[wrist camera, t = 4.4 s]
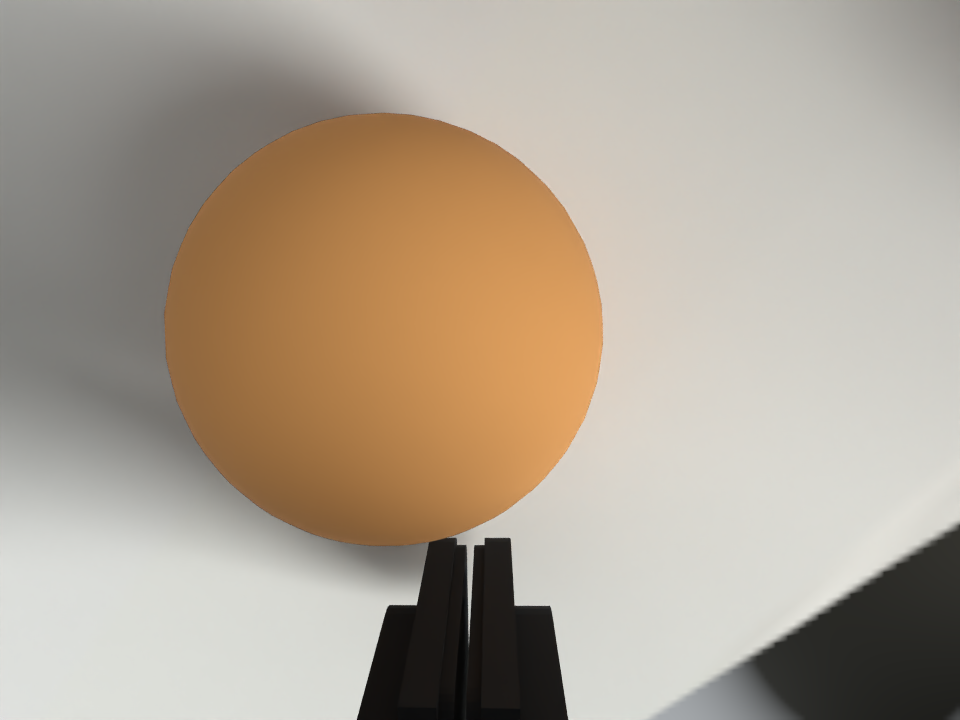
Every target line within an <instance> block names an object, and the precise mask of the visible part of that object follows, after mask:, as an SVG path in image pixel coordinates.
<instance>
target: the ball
mask: <svg viewBox="0 0 960 720" xmlns="http://www.w3.org/2000/svg"><path fill="white" fill-rule="evenodd" d="M164 318H165V345H166V360H167V364H168V368H169V373H170V377H171V381H172V385H173V389H174V392H175V396H176V400H177V402H178V405H179V407H180V409H181V411H182V414H183V416H184V418H185V420H186V422H187V424H188V426H189V428H190V430H191V432H192V434H193V436H194V438H195V440H196V441H197V443H198V444H199V446H200V447H201V449H202V450H203V452H204V453H205V454H206V456H207V457H208V458H209V459H210V461H211V462H212V463H213V464H214V466H215V467H216V468H217V469H218V471H219V472H220V473H221V474H222V475H223V476H224V477H225V478H226V479H227V481H228V482H229V483H230V484H232V485H233V486H234V487H235V488H236V489H237V490H239V491H240V492H241V493H242V494H243V495H245V496H246V497H247V498H248V499H250V500H251V501H252V502H253V503H255V504H256V505H257V506H258V507H260V508H261V509H263V510H265V511H266V512H268V513H269V514H271V515H272V516H274V517H276V518H278V519H280V520H282V521H284V522H286V523H288V524H290V525H293V526H295V527H297V528H299V529H301V530H304V531H306V532H309V533H311V534H314V535H317V536H320V537H323V538H327V539H331V540H335V541H339V542H345V543H351V544H359V545H369V546H401V545H412V544H419V543H426V542H431V541H436V540H440V539H444V538H447V537H450V536H454V535H457V534H459V533H462V532H464V531H467V530H469V529H471V528H474V527H476V526H478V525H480V524H482V523H484V522H486V521H489V520H491V519H493V518H495V517H496V516H498V515H499V514H501V513H503V512H504V511H506V510H507V509H509V508H510V507H511V506H513V505H514V504H515V503H516V502H518V501H519V500H520V499H522V498H523V497H524V496H525V495H527V494H528V493H529V492H531V491H532V490H533V489H534V488H535V487H536V486H537V485H538V484H539V483H540V482H541V481H542V480H543V479H544V478H545V477H546V476H547V475H548V473H549V472H550V471H551V470H552V469H553V468H554V466H555V465H556V464H557V463H558V461H559V460H560V459H561V458H562V456H563V455H564V454H565V452H566V451H567V449H568V447H569V446H570V444H571V442H572V440H573V439H574V437H575V435H576V433H577V431H578V430H579V428H580V426H581V424H582V422H583V421H584V419H585V416H586V413H587V410H588V407H589V405H590V402H591V399H592V396H593V393H594V390H595V387H596V384H597V379H598V373H599V367H600V361H601V353H602V346H603V323H602V306H601V300H600V294H599V289H598V284H597V280H596V276H595V273H594V269H593V265H592V263H591V260H590V257H589V255H588V252H587V249H586V247H585V244H584V242H583V240H582V238H581V236H580V235H579V233H578V231H577V229H576V227H575V226H574V224H573V222H572V220H571V219H570V217H569V215H568V213H567V212H566V210H565V208H564V207H563V206H562V204H561V203H560V202H559V201H558V199H557V198H556V197H555V196H554V194H553V193H552V192H551V191H550V189H549V188H548V187H547V186H546V185H545V184H544V183H543V182H542V181H541V180H540V179H539V178H538V177H537V176H536V175H535V174H534V173H533V172H532V171H531V170H530V169H528V168H527V167H526V166H525V165H524V164H523V163H522V162H521V161H520V160H518V159H517V158H516V157H514V156H513V155H511V154H510V153H508V152H507V151H505V150H504V149H503V148H501V147H500V146H498V145H497V144H495V143H493V142H491V141H489V140H487V139H485V138H483V137H481V136H479V135H477V134H475V133H473V132H471V131H468V130H465V129H462V128H460V127H457V126H454V125H451V124H448V123H445V122H442V121H439V120H434V119H429V118H425V117H420V116H415V115H407V114H392V113H374V114H359V115H348V116H343V117H338V118H333V119H329V120H324V121H319V122H316V123H314V124H311V125H308V126H306V127H303V128H300V129H297V130H295V131H292V132H290V133H288V134H286V135H284V136H283V137H281V138H279V139H277V140H275V141H274V142H272V143H270V144H268V145H266V146H265V147H263V148H262V149H260V150H259V151H257V152H256V153H254V154H253V155H252V156H250V157H249V158H248V159H247V160H245V161H244V162H243V163H241V164H240V165H239V166H238V167H236V168H235V169H234V170H233V171H232V172H231V173H230V174H229V175H228V176H227V177H226V178H225V179H224V180H223V182H222V183H221V184H220V185H219V186H218V187H217V188H216V189H215V190H214V192H213V193H212V194H211V195H210V197H209V198H208V199H207V200H206V201H205V203H204V204H203V205H202V207H201V209H200V210H199V212H198V214H197V215H196V217H195V218H194V220H193V222H192V223H191V225H190V226H189V229H188V231H187V233H186V235H185V237H184V240H183V242H182V244H181V247H180V249H179V252H178V254H177V257H176V260H175V262H174V265H173V268H172V272H171V277H170V283H169V288H168V294H167V300H166V306H165V312H164Z"/></svg>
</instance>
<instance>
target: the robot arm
mask: <svg viewBox="0 0 960 720" xmlns="http://www.w3.org/2000/svg"><path fill="white" fill-rule="evenodd" d="M357 720H568V716H567V709H566V703H565V696H564V689H563V683H562V676H561V670H560V663H559V656H558V650H557V643H556V637H555V630H554V623H553V617H552V611H551V607H550V606H514V589H513V572H512V554H511V539H510V538H485V545H475V546H474V562H473V581H472V600H471V618H470V637H469V636H468V589H467V547H466V545H457V539H456V538H444V539H440V540H436V541H431V542H429V546H428V551H427V556H426V561H425V566H424V571H423V576H422V582H421V587H420V592H419V597H418V602H417V605H389V606H388V608H387V610H386V613H385V617H384V621H383V624H382V628H381V632H380V636H379V639H378V643H377V647H376V650H375V654H374V658H373V662H372V665H371V669H370V673H369V676H368V680H367V684H366V688H365V691H364V695H363V699H362V702H361V706H360V710H359V714H358V717H357Z"/></svg>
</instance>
